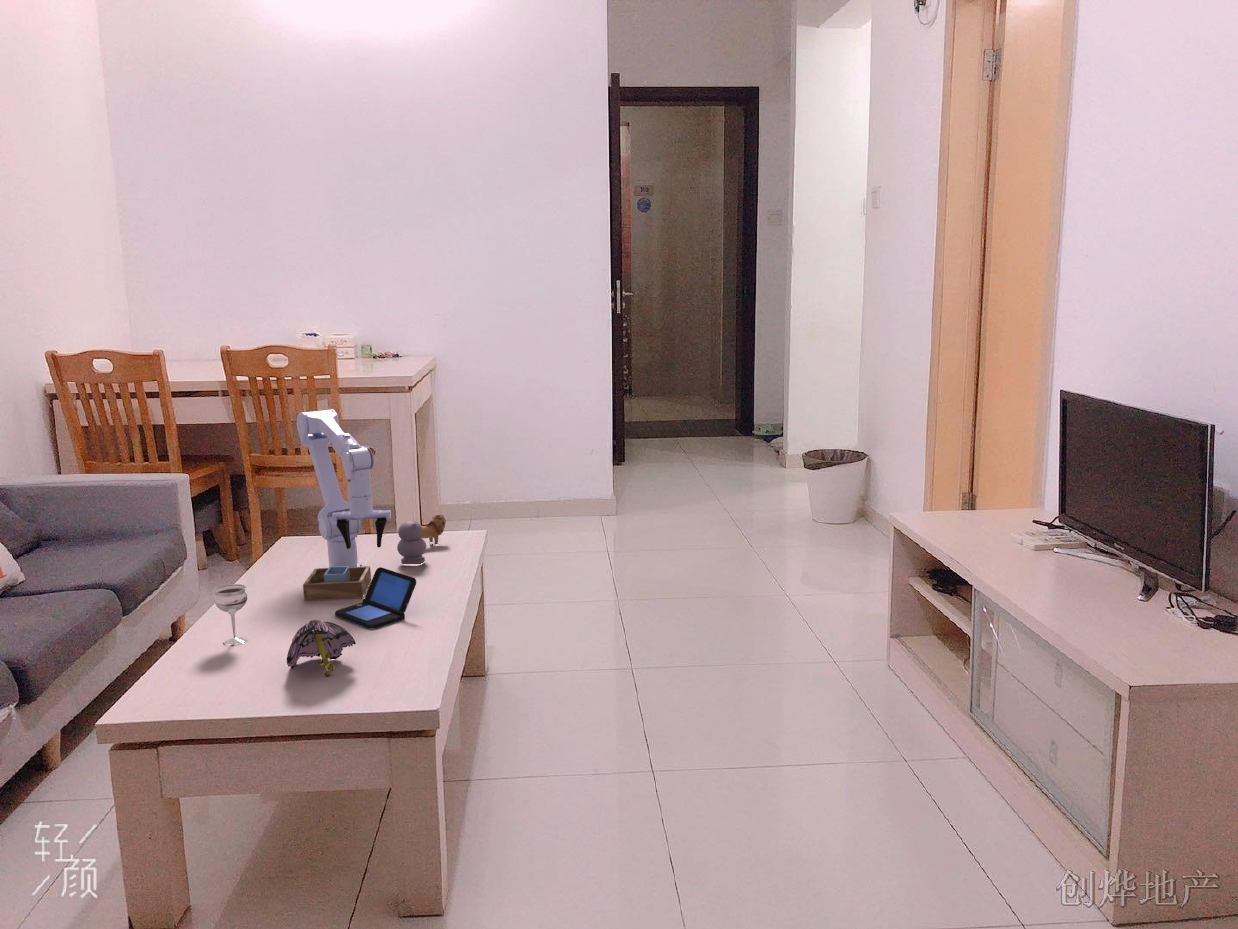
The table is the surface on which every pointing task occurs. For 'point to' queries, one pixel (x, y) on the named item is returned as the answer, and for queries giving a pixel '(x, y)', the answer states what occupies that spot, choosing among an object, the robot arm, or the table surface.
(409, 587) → the handheld game console
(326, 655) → the dark domed piece
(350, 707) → the table surface
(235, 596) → the wineglass
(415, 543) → the grey rounded bulbous piece
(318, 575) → the tray
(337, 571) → the blue crate
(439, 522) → the lion figurine
